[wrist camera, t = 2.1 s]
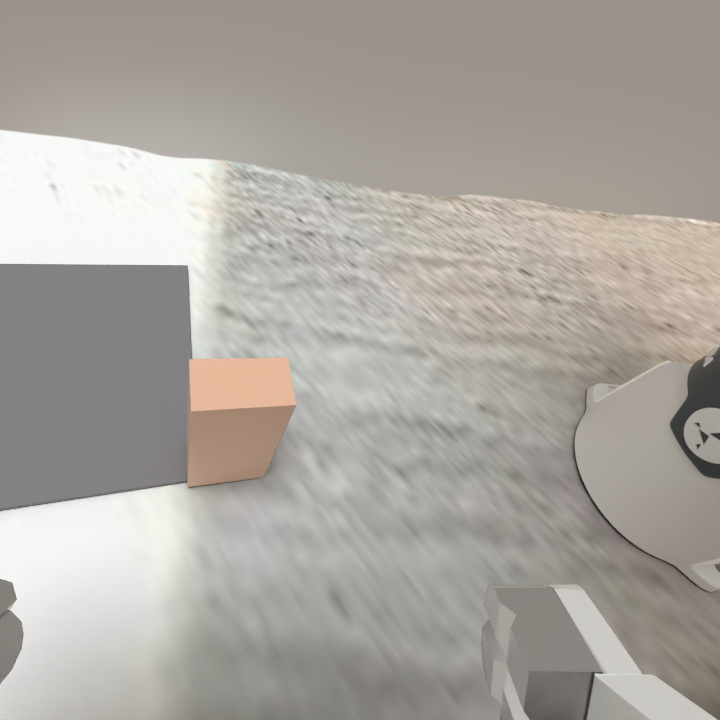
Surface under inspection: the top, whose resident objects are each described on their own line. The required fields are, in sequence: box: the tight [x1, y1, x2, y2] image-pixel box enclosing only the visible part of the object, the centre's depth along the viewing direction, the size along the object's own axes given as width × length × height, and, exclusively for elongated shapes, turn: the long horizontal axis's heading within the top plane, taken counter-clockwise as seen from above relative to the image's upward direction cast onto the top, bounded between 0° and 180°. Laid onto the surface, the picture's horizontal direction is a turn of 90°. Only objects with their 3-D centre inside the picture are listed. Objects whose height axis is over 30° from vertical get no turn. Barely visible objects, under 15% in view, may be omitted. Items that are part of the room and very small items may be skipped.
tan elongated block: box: [186, 358, 296, 487], centre depth 25 cm, size 5×3×11 cm, turn 104°
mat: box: [0, 264, 192, 511], centre depth 31 cm, size 14×20×1 cm
